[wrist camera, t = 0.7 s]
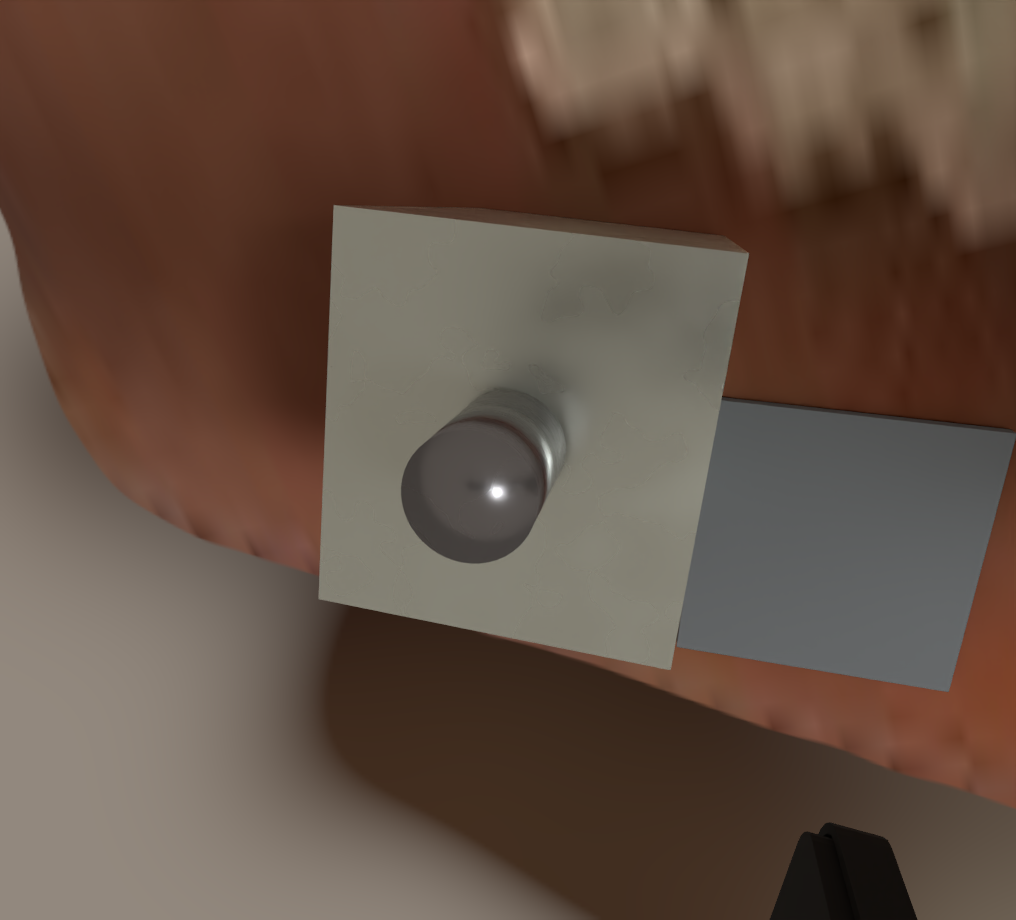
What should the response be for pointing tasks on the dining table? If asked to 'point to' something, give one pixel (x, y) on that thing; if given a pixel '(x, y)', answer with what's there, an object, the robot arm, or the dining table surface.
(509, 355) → the beige box
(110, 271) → the dining table surface
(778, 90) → the dining table surface
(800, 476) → the mat
